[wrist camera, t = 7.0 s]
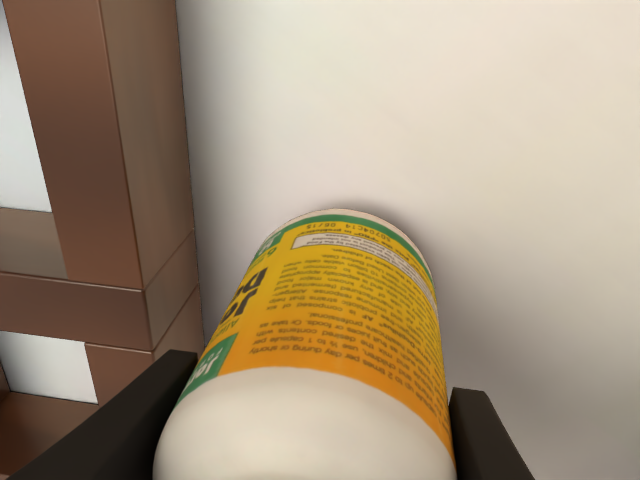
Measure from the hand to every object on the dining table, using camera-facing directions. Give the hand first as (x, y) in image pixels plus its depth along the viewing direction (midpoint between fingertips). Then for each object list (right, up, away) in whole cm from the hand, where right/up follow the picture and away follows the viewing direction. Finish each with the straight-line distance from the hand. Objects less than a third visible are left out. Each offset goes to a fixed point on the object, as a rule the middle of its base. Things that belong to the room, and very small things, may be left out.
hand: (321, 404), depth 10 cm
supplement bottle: (+1, +2, +4) cm, 5 cm away
